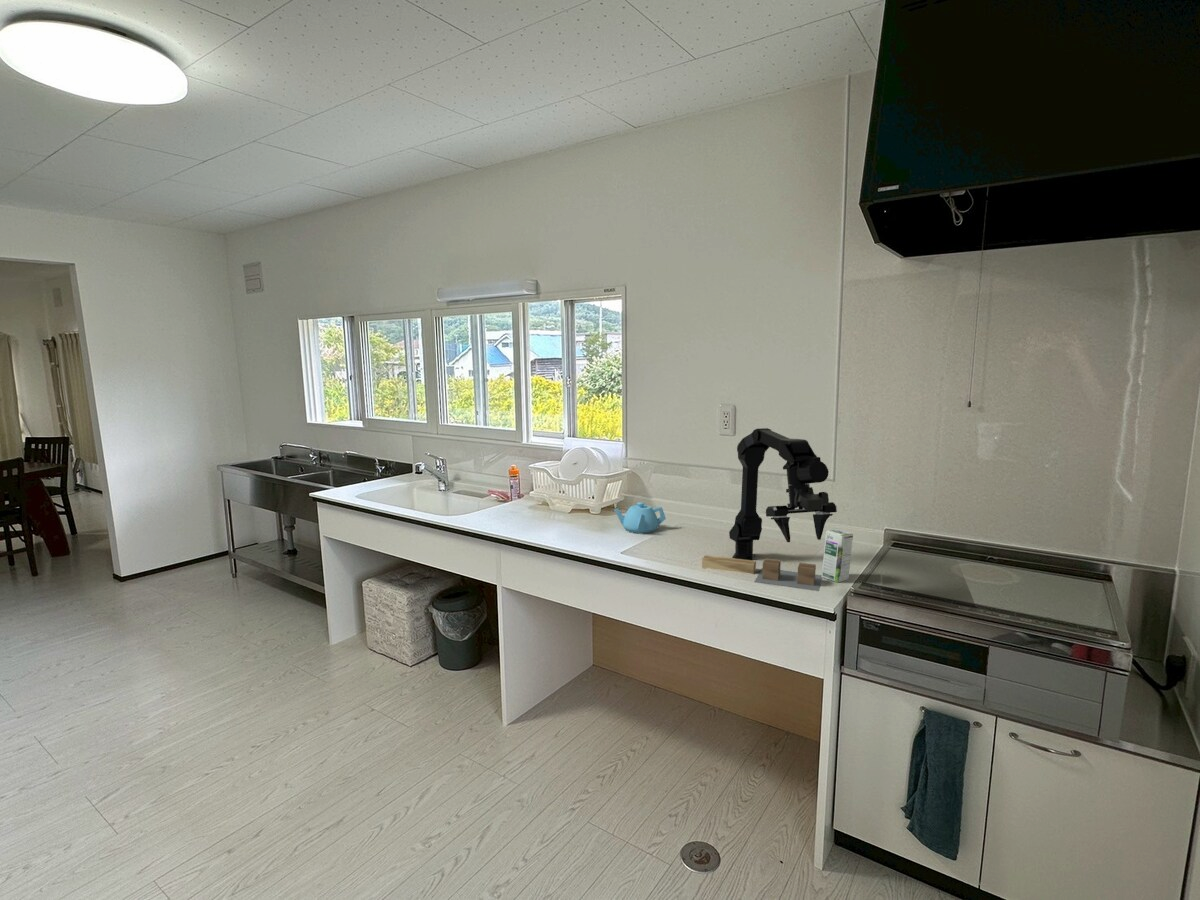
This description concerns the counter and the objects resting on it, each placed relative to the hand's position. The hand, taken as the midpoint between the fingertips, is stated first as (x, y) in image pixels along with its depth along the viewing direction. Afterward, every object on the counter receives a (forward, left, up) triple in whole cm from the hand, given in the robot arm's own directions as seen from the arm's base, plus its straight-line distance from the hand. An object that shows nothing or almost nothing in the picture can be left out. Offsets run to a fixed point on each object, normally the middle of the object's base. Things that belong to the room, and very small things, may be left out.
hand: (803, 540), depth 169 cm
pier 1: (-9, -10, -15) cm, 20 cm away
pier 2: (-9, 0, -15) cm, 18 cm away
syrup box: (-16, +8, -15) cm, 24 cm away
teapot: (-45, -65, -16) cm, 81 cm away
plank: (-12, -23, -16) cm, 31 cm away
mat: (-10, -5, -15) cm, 19 cm away
